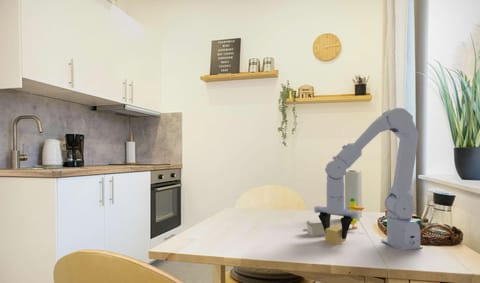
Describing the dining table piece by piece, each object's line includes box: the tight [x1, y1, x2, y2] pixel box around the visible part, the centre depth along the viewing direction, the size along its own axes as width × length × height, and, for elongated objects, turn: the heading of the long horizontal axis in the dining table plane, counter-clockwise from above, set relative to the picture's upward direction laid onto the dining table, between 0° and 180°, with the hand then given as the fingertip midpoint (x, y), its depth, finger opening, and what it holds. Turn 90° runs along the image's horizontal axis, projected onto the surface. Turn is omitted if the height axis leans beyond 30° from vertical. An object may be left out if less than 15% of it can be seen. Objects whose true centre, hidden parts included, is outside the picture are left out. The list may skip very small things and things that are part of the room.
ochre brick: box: [325, 224, 347, 246], centre depth 103 cm, size 4×7×5 cm, turn 138°
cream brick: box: [306, 218, 326, 237], centre depth 112 cm, size 4×7×5 cm, turn 103°
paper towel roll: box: [344, 170, 363, 221], centre depth 136 cm, size 7×6×21 cm
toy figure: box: [349, 198, 365, 230], centre depth 121 cm, size 7×4×12 cm, turn 61°
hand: (335, 236), depth 103 cm, fingers open, 5 cm apart
